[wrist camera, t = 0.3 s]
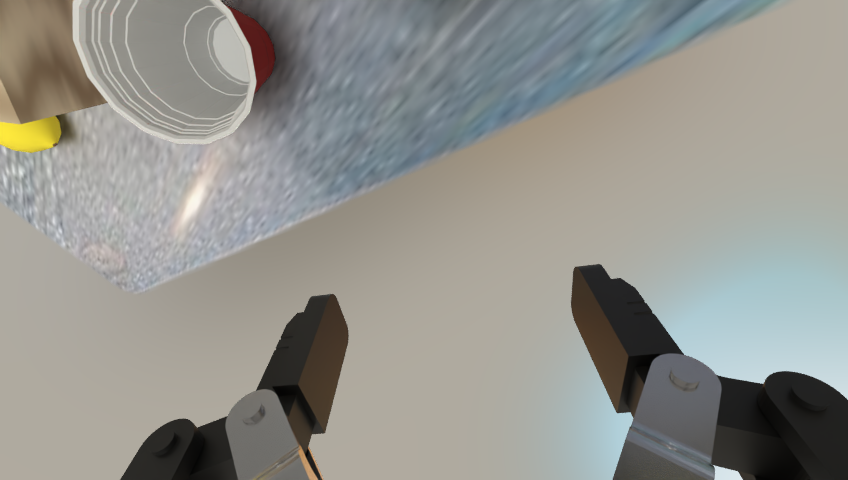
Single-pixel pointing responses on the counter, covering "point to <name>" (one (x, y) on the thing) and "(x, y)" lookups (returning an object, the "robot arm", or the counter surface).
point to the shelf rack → (41, 62)
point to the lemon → (31, 135)
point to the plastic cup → (174, 63)
